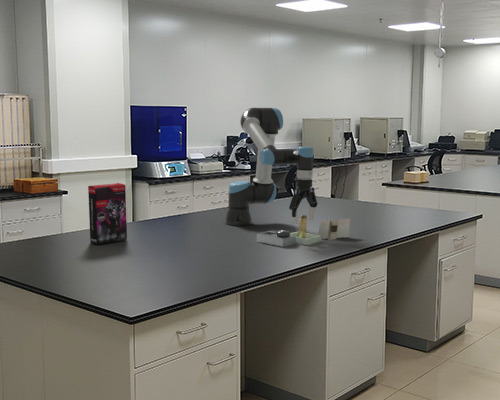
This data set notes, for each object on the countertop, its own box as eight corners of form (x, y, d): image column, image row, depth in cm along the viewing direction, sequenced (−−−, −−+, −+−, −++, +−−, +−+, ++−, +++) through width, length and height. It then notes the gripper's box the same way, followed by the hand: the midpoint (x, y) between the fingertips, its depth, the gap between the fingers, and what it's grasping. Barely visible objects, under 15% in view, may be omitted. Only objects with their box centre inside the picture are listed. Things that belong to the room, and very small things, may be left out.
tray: (283, 240, 299) (283, 234, 299) (298, 237, 308) (298, 231, 308) (306, 245, 290) (307, 239, 290) (321, 241, 299) (321, 235, 299)
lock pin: (297, 239, 299) (298, 215, 297) (301, 238, 302) (302, 214, 300) (303, 240, 297) (304, 216, 295) (307, 239, 299) (308, 215, 297)
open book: (352, 247, 307) (353, 224, 316) (349, 236, 300) (350, 213, 310) (320, 249, 312) (322, 226, 321) (316, 239, 306) (318, 216, 315)
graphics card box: (96, 245, 280) (95, 187, 275) (88, 243, 284) (87, 185, 280) (127, 240, 292) (127, 184, 288) (118, 238, 297) (118, 182, 292)
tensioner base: (256, 241, 296) (256, 228, 295) (269, 238, 304) (269, 225, 303) (282, 247, 286) (283, 233, 285) (295, 243, 293) (295, 230, 292)
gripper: (295, 181, 283) (293, 226, 286) (325, 177, 301) (323, 219, 305) (282, 179, 288) (281, 224, 291) (313, 176, 306) (311, 217, 310)
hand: (303, 221), depth 298 cm, fingers open, 13 cm apart
